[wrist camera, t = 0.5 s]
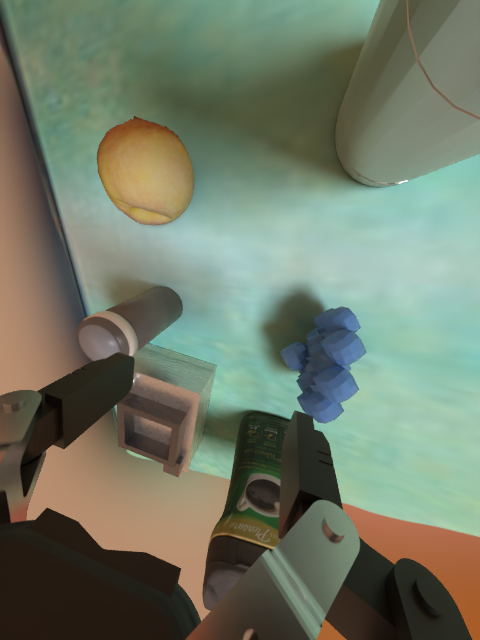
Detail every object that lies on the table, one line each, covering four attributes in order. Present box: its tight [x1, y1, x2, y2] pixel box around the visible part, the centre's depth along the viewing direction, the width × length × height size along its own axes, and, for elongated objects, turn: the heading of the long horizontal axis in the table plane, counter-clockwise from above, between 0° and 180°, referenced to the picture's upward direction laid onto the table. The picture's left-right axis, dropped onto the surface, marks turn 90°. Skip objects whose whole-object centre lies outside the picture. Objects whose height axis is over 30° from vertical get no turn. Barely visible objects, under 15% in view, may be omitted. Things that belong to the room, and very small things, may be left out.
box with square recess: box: [117, 343, 217, 477], centre depth 32 cm, size 16×11×8 cm
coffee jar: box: [203, 414, 290, 611], centre depth 26 cm, size 10×8×19 cm
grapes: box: [280, 307, 366, 424], centre depth 21 cm, size 12×7×12 cm, turn 172°
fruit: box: [97, 116, 194, 225], centre depth 20 cm, size 8×8×8 cm
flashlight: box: [77, 286, 183, 361], centre depth 25 cm, size 5×5×11 cm
